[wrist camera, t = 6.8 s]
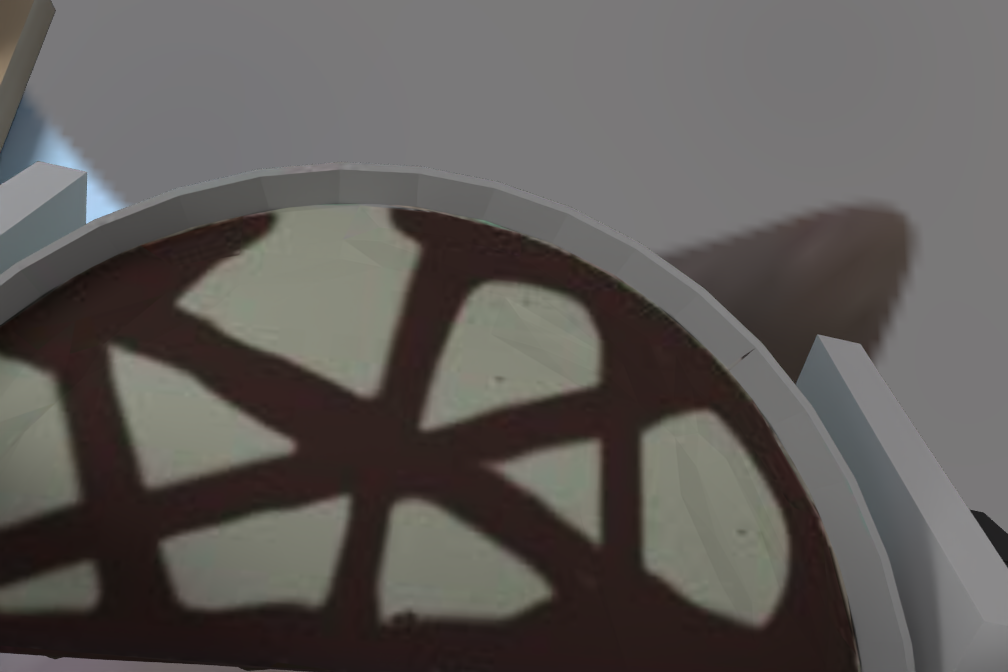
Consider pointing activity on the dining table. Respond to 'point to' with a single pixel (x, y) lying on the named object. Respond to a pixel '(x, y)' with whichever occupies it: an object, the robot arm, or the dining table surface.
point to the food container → (412, 446)
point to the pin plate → (19, 51)
